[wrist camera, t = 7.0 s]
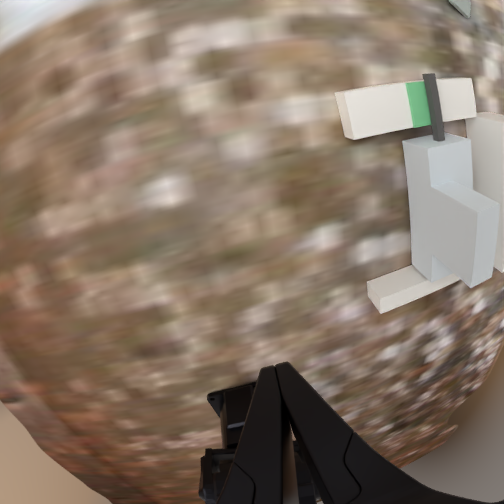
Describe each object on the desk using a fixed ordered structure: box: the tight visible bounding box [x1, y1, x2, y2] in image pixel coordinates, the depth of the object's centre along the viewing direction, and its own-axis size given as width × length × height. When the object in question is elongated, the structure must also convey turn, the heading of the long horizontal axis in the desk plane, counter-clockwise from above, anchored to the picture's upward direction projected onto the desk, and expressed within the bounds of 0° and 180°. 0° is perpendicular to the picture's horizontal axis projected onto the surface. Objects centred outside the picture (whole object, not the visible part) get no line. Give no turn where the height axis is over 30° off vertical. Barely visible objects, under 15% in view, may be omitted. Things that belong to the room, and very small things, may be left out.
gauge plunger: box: [402, 74, 500, 288], centre depth 17 cm, size 14×4×8 cm, turn 16°
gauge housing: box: [334, 78, 504, 314], centre depth 19 cm, size 16×14×5 cm
